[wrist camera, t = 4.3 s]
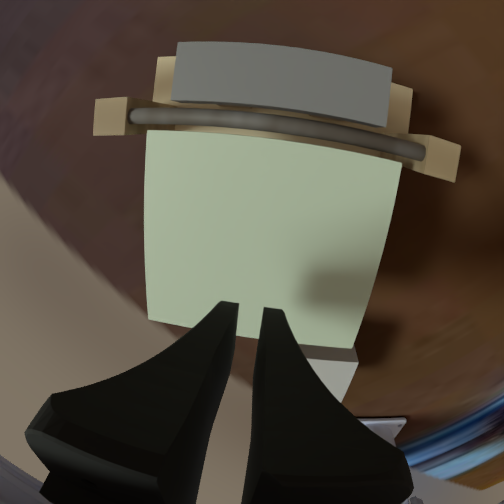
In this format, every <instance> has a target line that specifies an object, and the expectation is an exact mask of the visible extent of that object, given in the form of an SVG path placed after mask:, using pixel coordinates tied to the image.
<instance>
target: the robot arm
mask: <svg viewBox="0 0 504 504" xmlns="http://www.w3.org/2000/svg"><path fill="white" fill-rule="evenodd" d="M238 311H239V303H234V302H228V301H220V302H218V303H217V304H216V305H215V307H214V308H213V309H212V310H211V311H210V312H209V313H208V314H207V315H206V316H205V317H204V318H203V319H202V320H201V321H200V322H199V323H197V324H196V325H195V326H194V327H193V328H192V329H191V330H190V331H188V332H187V333H186V334H185V335H184V336H182V337H181V338H180V339H178V340H177V341H176V342H175V343H173V344H172V345H171V346H169V347H168V348H166V349H165V350H163V351H162V352H160V353H159V354H157V355H156V356H154V357H152V358H151V359H149V360H147V361H146V362H144V363H142V364H140V365H138V366H136V367H134V368H132V369H130V370H128V371H126V372H124V373H121V374H119V375H116V376H114V377H111V378H109V379H106V380H103V381H100V382H97V383H94V384H91V385H88V386H84V387H81V388H76V389H72V390H68V391H64V392H59V393H54V394H52V395H51V396H50V397H49V398H48V399H47V401H46V402H45V403H44V404H43V406H42V407H41V408H40V410H39V411H38V413H37V415H36V416H35V417H34V419H33V420H32V422H31V423H30V425H29V426H28V428H27V430H26V431H25V437H26V440H27V443H28V444H29V446H30V447H31V449H32V450H33V451H34V453H35V454H36V455H37V457H38V458H39V459H40V460H41V461H42V463H43V464H44V465H45V466H46V468H47V469H48V470H49V471H50V473H49V474H48V476H47V478H46V480H45V482H44V483H42V482H41V481H39V480H37V479H36V478H34V477H32V476H31V475H29V474H28V473H26V472H24V471H23V470H21V469H20V468H18V467H17V466H15V465H14V464H12V463H11V462H9V461H8V460H7V459H5V458H4V457H2V456H1V455H0V504H196V500H197V494H198V490H199V485H200V479H201V474H202V470H203V465H204V460H205V455H206V451H207V446H208V442H209V437H210V433H211V430H212V426H213V423H214V420H215V417H216V414H217V411H218V408H219V405H220V402H221V399H222V396H223V393H224V390H225V387H226V384H227V381H228V378H229V375H230V370H231V365H232V360H233V355H234V350H235V340H236V330H237V321H238ZM252 394H253V395H252V429H251V442H250V449H249V456H248V463H247V470H246V476H245V483H244V490H243V496H242V502H241V504H409V500H408V497H409V496H410V495H411V494H412V491H413V489H414V486H413V482H412V477H411V473H410V469H409V466H408V463H407V460H406V458H405V455H404V452H403V451H401V450H400V449H398V448H397V447H396V445H395V441H394V438H395V437H396V435H397V434H398V433H399V431H400V430H401V429H402V427H403V426H404V425H405V423H406V418H404V417H403V418H375V419H357V418H356V417H355V416H354V415H353V414H352V413H351V412H349V411H348V410H347V409H346V408H345V407H344V406H343V405H342V404H341V403H340V402H339V401H338V400H337V399H336V398H335V396H334V395H333V394H332V393H331V392H330V391H329V389H328V388H327V387H326V386H325V384H324V383H323V382H322V381H321V379H320V378H319V377H318V375H317V374H316V372H315V371H314V370H313V368H312V367H311V365H310V363H309V362H308V360H307V359H306V357H305V355H304V354H303V352H302V350H301V348H300V346H299V345H298V343H297V341H296V339H295V337H294V335H293V333H292V330H291V328H290V326H289V324H288V321H287V318H286V316H285V312H284V311H283V310H282V309H277V308H269V307H264V308H263V315H262V321H261V328H260V334H259V340H258V346H257V353H256V360H255V367H254V374H253V393H252ZM410 501H411V504H423V501H422V500H421V499H419V498H417V497H416V496H415V497H412V498H410ZM499 504H504V500H503V501H502V502H500V503H499Z"/></svg>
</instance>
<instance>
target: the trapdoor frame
mask: <svg viewBox="0 0 504 504" xmlns="http://www.w3.org/2000/svg"><path fill="white" fill-rule="evenodd" d="M175 60H176V56H172V57H158V62H157V69H156V77H155V85H154V94H153V101H148V100H142V99H137V98H131V97H119V98H105V99H96V102H95V114H94V129H93V136H96V135H132V134H147V130H173V131H195V132H211V133H224V134H235V135H246V136H255V137H264V138H272V139H280V140H287V141H294V142H301V143H307V144H314V145H320V146H326V147H331V148H337V149H342V150H347V151H352V152H357V153H362V154H367V155H371V156H376V157H380V158H385V159H389V160H393V161H397V162H400V163H402V167H401V168H403V167H405V168H408V169H411V170H414V171H417V172H420V173H423V174H426V175H430V176H433V177H437V178H441V179H444V180H447V181H451V182H454V183H455V179H456V174H457V168H458V162H459V156H460V150H461V146H460V145H458V144H455V143H452V142H449V141H446V140H443V139H440V138H437V137H434V136H431V135H420V134H408V129H409V121H410V113H411V104H412V93H413V89H411V88H408V87H405V86H401V85H398V84H395V83H391V89H390V99H389V108H388V116H387V124H386V127H378V128H375V127H371V126H366V125H362V124H357V123H353V122H348V121H343V120H338V119H332V118H327V117H321V116H315V115H309V114H303V113H296V112H289V111H282V110H274V109H265V108H255V107H245V106H232V105H217V104H195V103H180V102H176V101H172V100H171V92H172V83H173V75H174V68H175Z"/></svg>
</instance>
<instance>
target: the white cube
mask: <svg viewBox="0 0 504 504" xmlns="http://www.w3.org/2000/svg"><path fill="white" fill-rule="evenodd" d="M298 345H299V346H300V348H301V350H302V352H303V354H304V355H305V357H306V359H307V360H308V362H309V363H310V365H311V367H312V368H313V370H314V371H315V372H316V374H317V375H318V377H319V378H320V379H321V381H322V382H323V383H324V384H325V386H326V387H327V388H328V389H329V391H330V392H331V393H332V394H333V395H334V396H335V398H336V399H337V400H338V401H339V402H340V403H341V402H342V399H343V397H344V395H345V393H346V391H347V389H348V386H349V384H350V382H351V380H352V377H353V375H354V373H355V370H356V368H357V366H358V363H359V361H358V358H357V354H356V350H355V347H354V344H353V347H352V349H350V348H338V347H326V346H316V345H306V344H298Z"/></svg>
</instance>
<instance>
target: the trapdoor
mask: <svg viewBox="0 0 504 504" xmlns="http://www.w3.org/2000/svg"><path fill="white" fill-rule="evenodd" d="M391 78H392V68H390V67H387V66H383V65H379V64H376V63H372V62H368V61H364V60H360V59H355V58H351V57H346V56H342V55H337V54H332V53H326V52H321V51H315V50H309V49H302V48H295V47H287V46H278V45H268V44H256V43H240V42H178V47H177V53H176V60H175V68H174V75H173V83H172V92H171V100H172V101H176V102H180V103H195V104H217V105H232V106H245V107H255V108H265V109H274V110H282V111H289V112H296V113H303V114H309V115H315V116H321V117H327V118H332V119H338V120H343V121H348V122H353V123H357V124H362V125H366V126H371V127H375V128H378V127H386V124H387V116H388V108H389V99H390V89H391ZM401 167H402V163H400V162H397V161H393V160H389V159H385V158H380V157H376V156H371V155H367V154H362V153H357V152H352V151H347V150H342V149H337V148H331V147H326V146H320V145H314V144H307V143H301V142H294V141H287V140H280V139H272V138H264V137H255V136H246V135H235V134H224V133H211V132H195V131H173V130H147V142H146V160H145V187H144V246H145V274H146V292H147V307H148V319H150V320H155V321H160V322H164V323H169V324H174V325H180V326H185V327H190V328H193V327H194V326H195V325H196V324H197V323H199V322H200V321H201V320H202V319H203V318H204V317H205V316H206V315H207V314H208V313H209V312H210V311H211V310H212V309H213V308H214V307H215V305H216V304H217V303H218V302H220V301H228V302H234V303H239V311H238V321H237V330H236V335H237V336H244V337H251V338H258V339H259V334H260V328H261V321H262V315H263V308H264V307H269V308H277V309H282V310H283V311H284V312H285V316H286V318H287V321H288V324H289V326H290V328H291V330H292V333H293V335H294V337H295V339H296V341H297V343H298V344H306V345H316V346H326V347H338V348H350V349H352V347H353V344H354V342H355V339H356V336H357V333H358V330H359V328H360V325H361V322H362V319H363V316H364V313H365V310H366V307H367V304H368V301H369V298H370V294H371V291H372V288H373V285H374V281H375V278H376V274H377V271H378V267H379V264H380V260H381V257H382V253H383V249H384V245H385V241H386V237H387V233H388V229H389V225H390V221H391V217H392V212H393V208H394V203H395V198H396V194H397V189H398V183H399V178H400V173H401Z"/></svg>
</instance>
